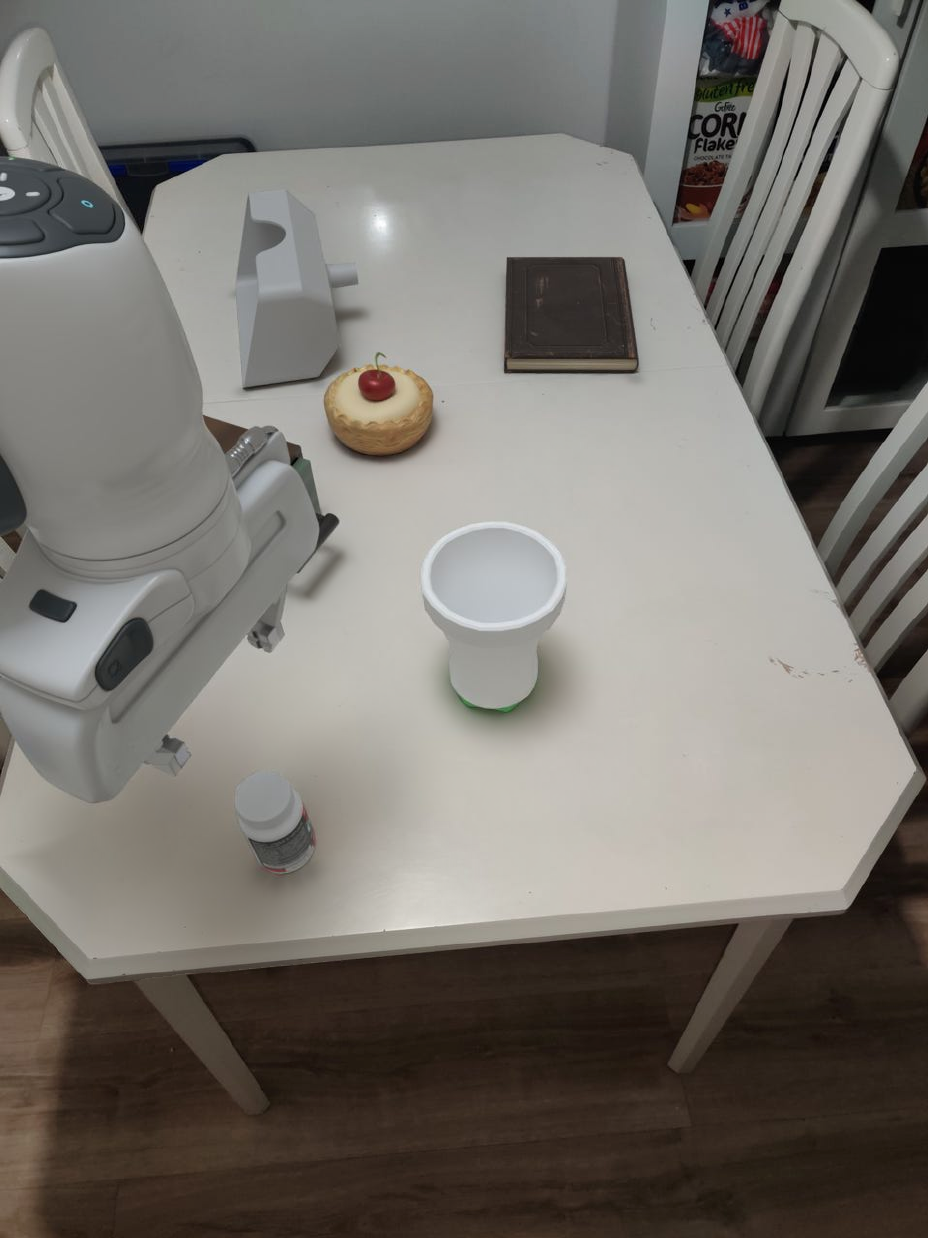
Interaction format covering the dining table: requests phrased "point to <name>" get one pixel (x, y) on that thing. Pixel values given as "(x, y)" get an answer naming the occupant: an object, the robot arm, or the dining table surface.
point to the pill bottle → (274, 822)
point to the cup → (493, 607)
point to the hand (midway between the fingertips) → (222, 699)
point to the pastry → (379, 408)
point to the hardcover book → (568, 316)
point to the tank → (285, 292)
